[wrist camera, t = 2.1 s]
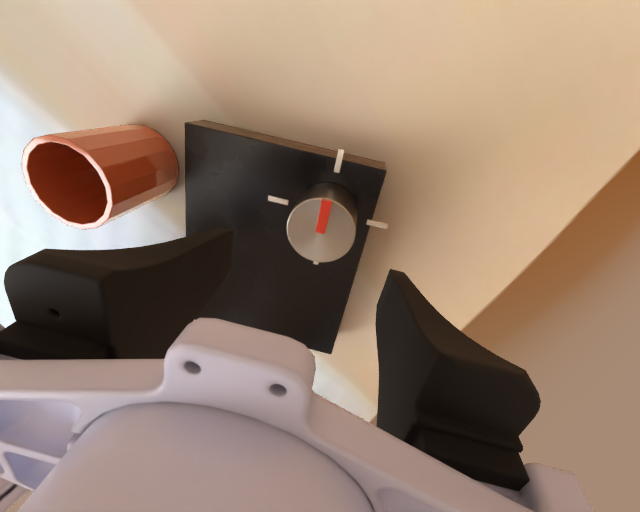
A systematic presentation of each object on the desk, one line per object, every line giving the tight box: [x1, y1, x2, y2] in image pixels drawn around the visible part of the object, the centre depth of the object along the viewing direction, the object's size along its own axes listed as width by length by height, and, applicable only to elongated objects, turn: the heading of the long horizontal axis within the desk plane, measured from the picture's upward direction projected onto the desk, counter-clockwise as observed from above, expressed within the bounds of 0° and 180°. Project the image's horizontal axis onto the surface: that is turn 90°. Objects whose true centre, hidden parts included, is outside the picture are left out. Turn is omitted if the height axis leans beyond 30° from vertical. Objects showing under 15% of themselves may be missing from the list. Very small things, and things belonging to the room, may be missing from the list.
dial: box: [286, 182, 358, 262], centre depth 19 cm, size 4×4×4 cm
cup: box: [21, 125, 178, 229], centre depth 21 cm, size 5×5×7 cm
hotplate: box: [185, 120, 388, 354], centre depth 24 cm, size 17×14×3 cm
